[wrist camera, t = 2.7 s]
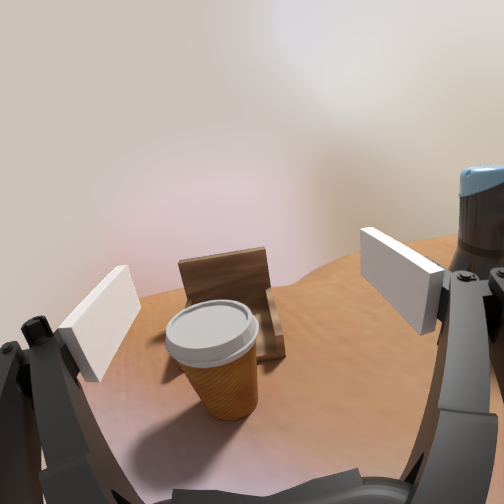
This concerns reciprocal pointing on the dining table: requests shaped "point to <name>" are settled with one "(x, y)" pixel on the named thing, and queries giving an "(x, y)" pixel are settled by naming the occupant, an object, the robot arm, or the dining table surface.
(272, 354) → the cradle
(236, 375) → the disposable coffee cup
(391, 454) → the dining table surface
